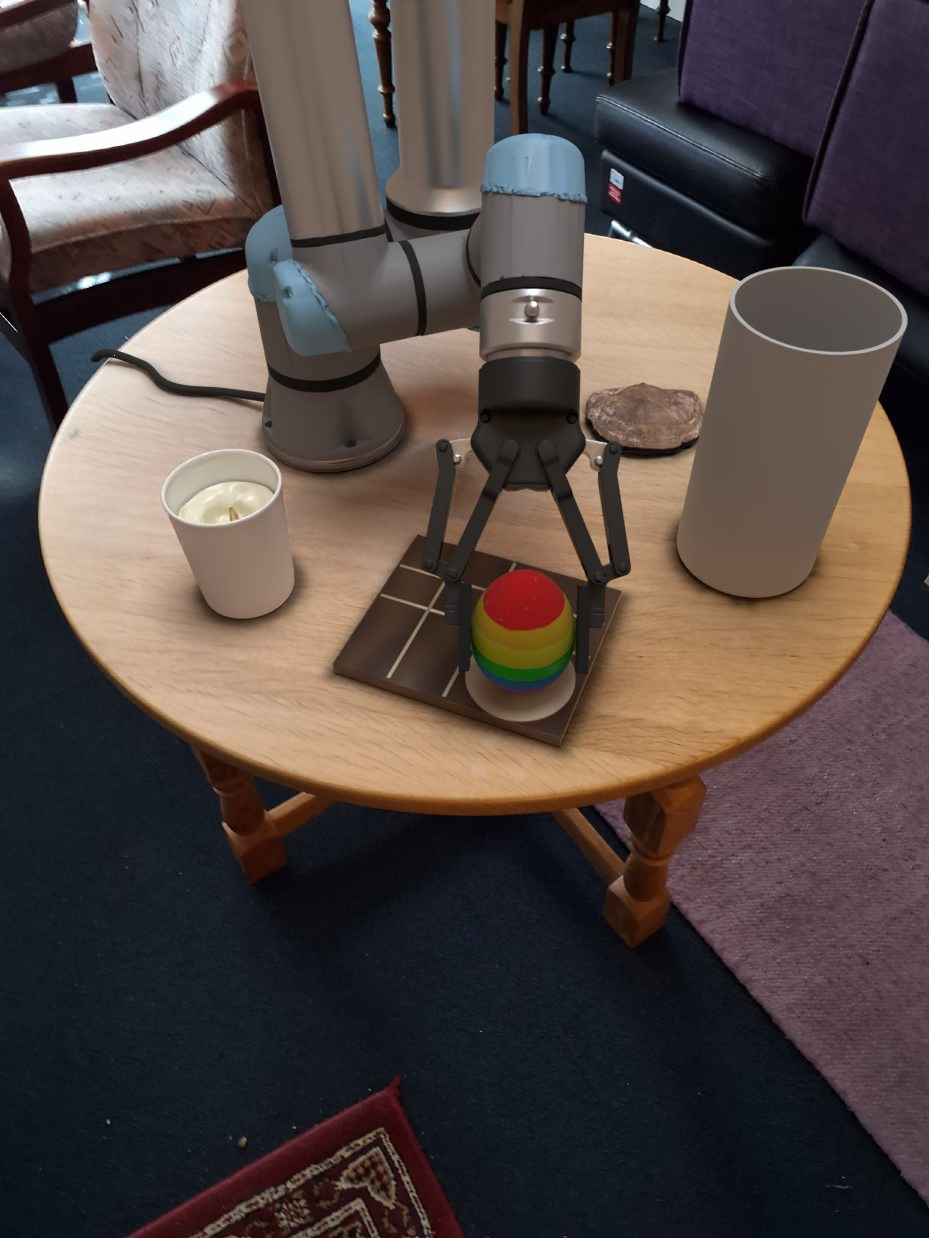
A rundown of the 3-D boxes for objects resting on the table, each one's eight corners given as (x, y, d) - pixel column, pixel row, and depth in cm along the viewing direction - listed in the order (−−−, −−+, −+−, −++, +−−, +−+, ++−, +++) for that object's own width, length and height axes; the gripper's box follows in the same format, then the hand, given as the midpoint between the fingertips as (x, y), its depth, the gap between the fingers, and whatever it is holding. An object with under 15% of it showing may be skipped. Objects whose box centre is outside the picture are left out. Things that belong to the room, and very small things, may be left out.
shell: (707, 461, 93) (714, 433, 90) (585, 456, 94) (588, 428, 91) (698, 397, 101) (704, 369, 98) (585, 392, 102) (588, 365, 99)
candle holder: (318, 557, 85) (298, 456, 76) (280, 634, 78) (254, 533, 69) (221, 542, 86) (191, 441, 77) (177, 616, 80) (139, 516, 71)
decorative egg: (582, 699, 70) (594, 613, 62) (479, 713, 69) (478, 628, 62) (559, 622, 75) (567, 534, 68) (463, 635, 74) (460, 547, 67)
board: (334, 672, 75) (332, 662, 74) (418, 543, 86) (417, 532, 85) (559, 747, 70) (560, 737, 69) (620, 599, 80) (622, 589, 79)
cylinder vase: (662, 582, 82) (716, 336, 63) (688, 497, 89) (743, 256, 71) (803, 616, 79) (903, 368, 60) (817, 525, 86) (910, 281, 68)
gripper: (381, 350, 63) (377, 673, 64) (682, 352, 62) (672, 680, 63) (395, 373, 70) (390, 662, 71) (663, 376, 69) (654, 668, 70)
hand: (522, 670), depth 67 cm, fingers closed on decorative egg, 8 cm apart
